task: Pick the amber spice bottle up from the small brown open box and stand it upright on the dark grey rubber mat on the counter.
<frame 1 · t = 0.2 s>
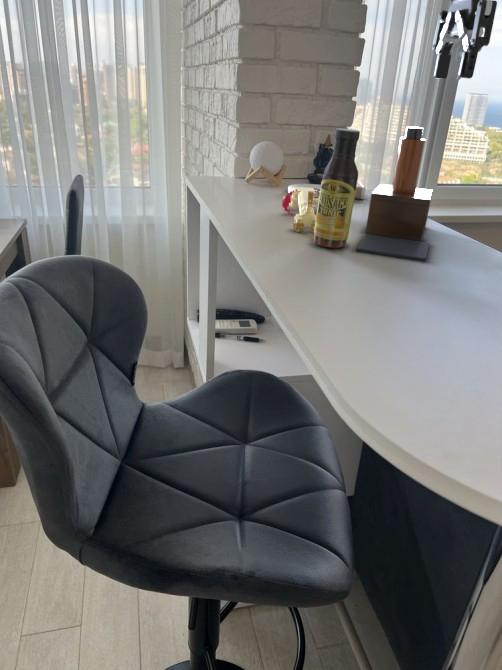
hand: (451, 78, 85), 28 cm above the table, tool pointing down, fingers open, 8 cm apart
brown open box: (396, 230, 105), on the table
mat: (393, 248, 93), on the table
spice bottle: (403, 191, 102), point 8 cm above the table, touching brown open box
sauce bottle: (330, 245, 93), on the table
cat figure: (303, 218, 111), on the table
record player: (324, 194, 138), on the table
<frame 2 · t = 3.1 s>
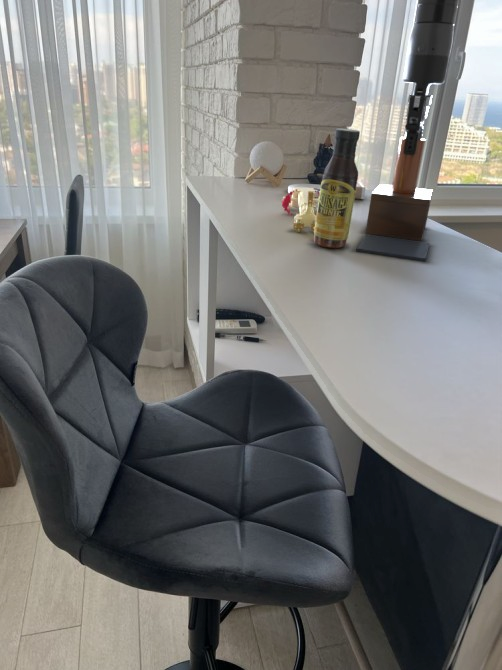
hand: (410, 152, 99), 15 cm above the table, tool pointing down, fingers closed on spice bottle, 4 cm apart
spice bottle: (403, 191, 102), point 8 cm above the table, touching gripper, brown open box
everything else where it was.
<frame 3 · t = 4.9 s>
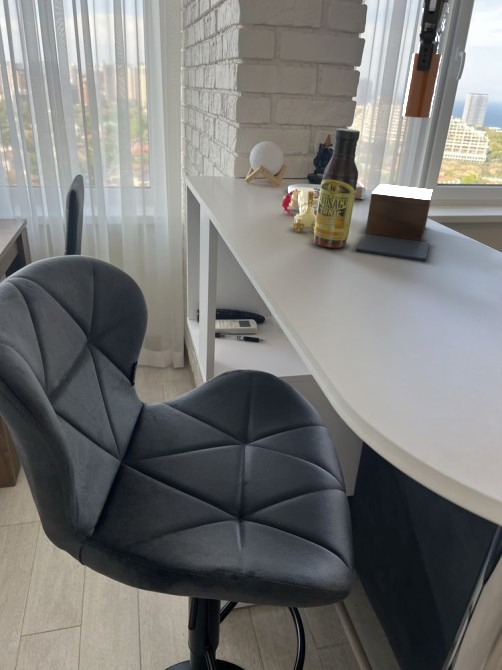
hand: (424, 71, 88), 29 cm above the table, tool pointing down, fingers closed on spice bottle, 4 cm apart
spice bottle: (415, 116, 92), point 22 cm above the table, touching gripper
everything else where it was.
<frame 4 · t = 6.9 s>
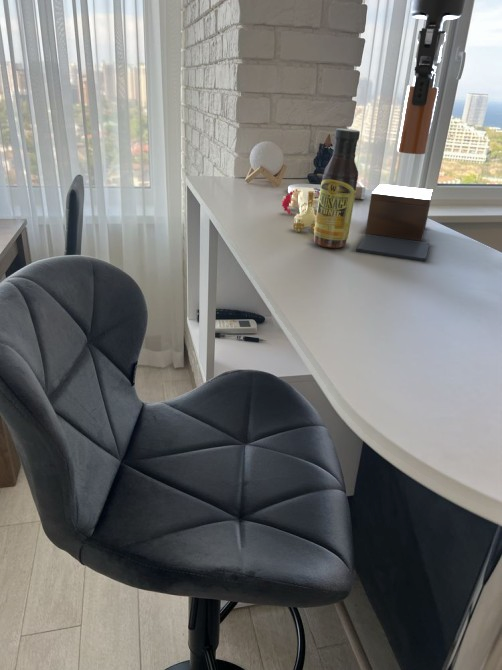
hand: (419, 104, 83), 24 cm above the table, tool pointing down, fingers closed on spice bottle, 4 cm apart
spice bottle: (411, 152, 86), point 17 cm above the table, touching gripper
everything else where it was.
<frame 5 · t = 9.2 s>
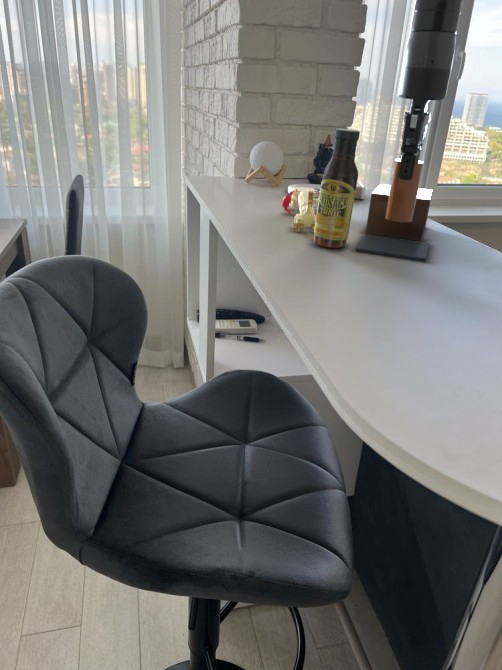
hand: (406, 176, 88), 13 cm above the table, tool pointing down, fingers closed on spice bottle, 4 cm apart
spice bottle: (398, 219, 91), point 5 cm above the table, touching gripper
everything else where it was.
when the fingers open (8 cm above the table, at t = 11.0 s): spice bottle stays where it is, resting on mat.
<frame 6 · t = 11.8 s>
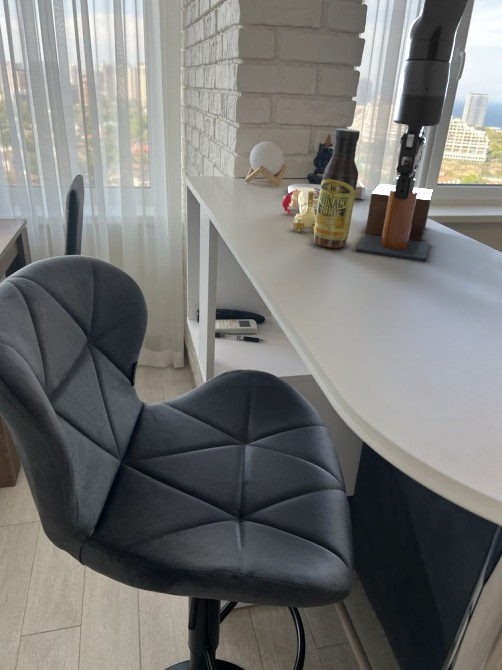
hand: (403, 194, 89), 10 cm above the table, tool pointing down, fingers open, 8 cm apart
spice bottle: (393, 245, 93), resting on mat
everything else where it was.
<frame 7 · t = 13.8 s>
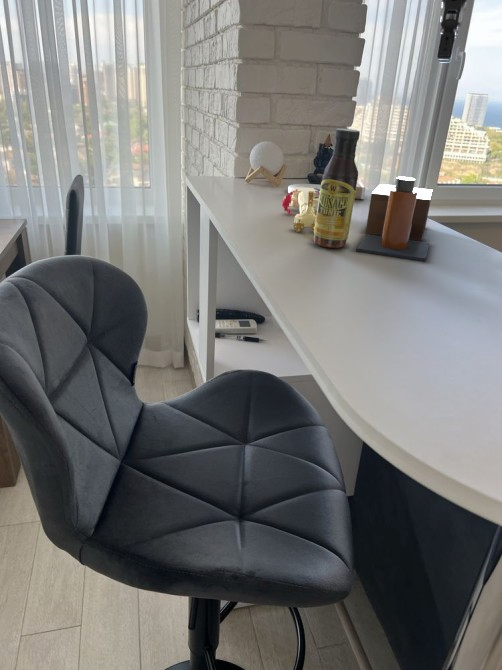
hand: (443, 61, 90), 31 cm above the table, tool pointing down, fingers open, 8 cm apart
nothing on the table moved.
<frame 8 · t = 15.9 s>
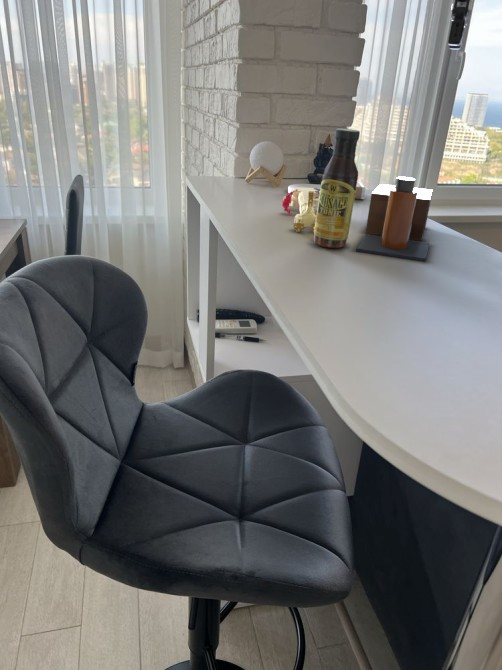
hand: (454, 47, 96), 34 cm above the table, tool pointing down, fingers open, 8 cm apart
nothing on the table moved.
at the end: spice bottle inside the target area (0.0 cm from its centre), point 0.5 cm above the table; spice bottle tilted 0°; the gripper is holding nothing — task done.
